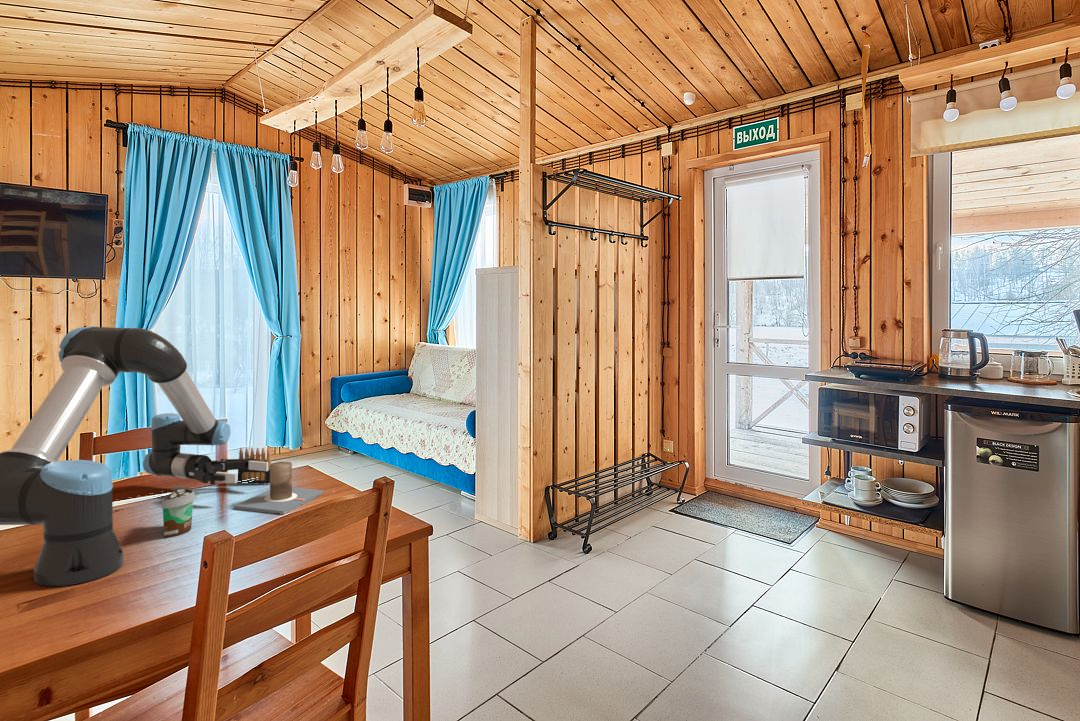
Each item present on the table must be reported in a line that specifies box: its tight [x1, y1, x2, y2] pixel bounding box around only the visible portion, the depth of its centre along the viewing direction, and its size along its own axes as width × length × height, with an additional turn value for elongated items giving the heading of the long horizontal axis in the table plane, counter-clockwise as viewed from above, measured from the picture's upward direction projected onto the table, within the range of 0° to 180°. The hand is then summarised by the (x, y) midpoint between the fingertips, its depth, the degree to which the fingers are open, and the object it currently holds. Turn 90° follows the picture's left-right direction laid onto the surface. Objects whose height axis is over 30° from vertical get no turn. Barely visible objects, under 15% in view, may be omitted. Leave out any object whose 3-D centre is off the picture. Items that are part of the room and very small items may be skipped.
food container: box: [161, 486, 197, 539], centre depth 147 cm, size 12×6×10 cm, turn 22°
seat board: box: [233, 486, 325, 515], centre depth 172 cm, size 20×16×1 cm
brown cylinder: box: [269, 461, 293, 500], centre depth 172 cm, size 6×6×10 cm
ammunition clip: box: [236, 447, 272, 485], centre depth 188 cm, size 11×2×12 cm, turn 93°
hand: (252, 472), depth 174 cm, fingers open, 13 cm apart
